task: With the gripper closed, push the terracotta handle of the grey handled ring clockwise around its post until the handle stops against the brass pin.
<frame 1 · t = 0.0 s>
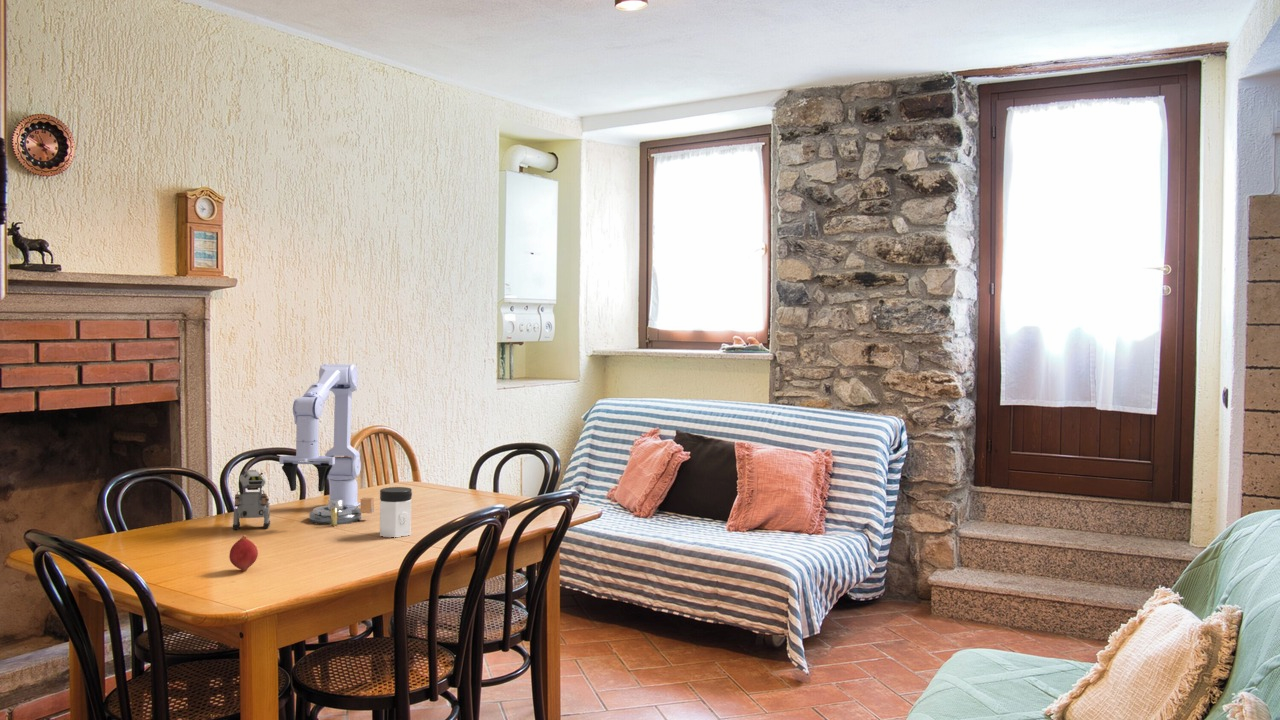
hand: (307, 490, 248), 10 cm above the table, tool pointing down, fingers open, 7 cm apart
figurine: (252, 527, 249), on the table
grey handled ring: (344, 505, 259), point 4 cm above the table, hinge at 0.0°
jar: (395, 535, 242), on the table
onion: (243, 571, 203), on the table
dowel pin: (334, 526, 251), on the table
post base: (335, 519, 259), on the table
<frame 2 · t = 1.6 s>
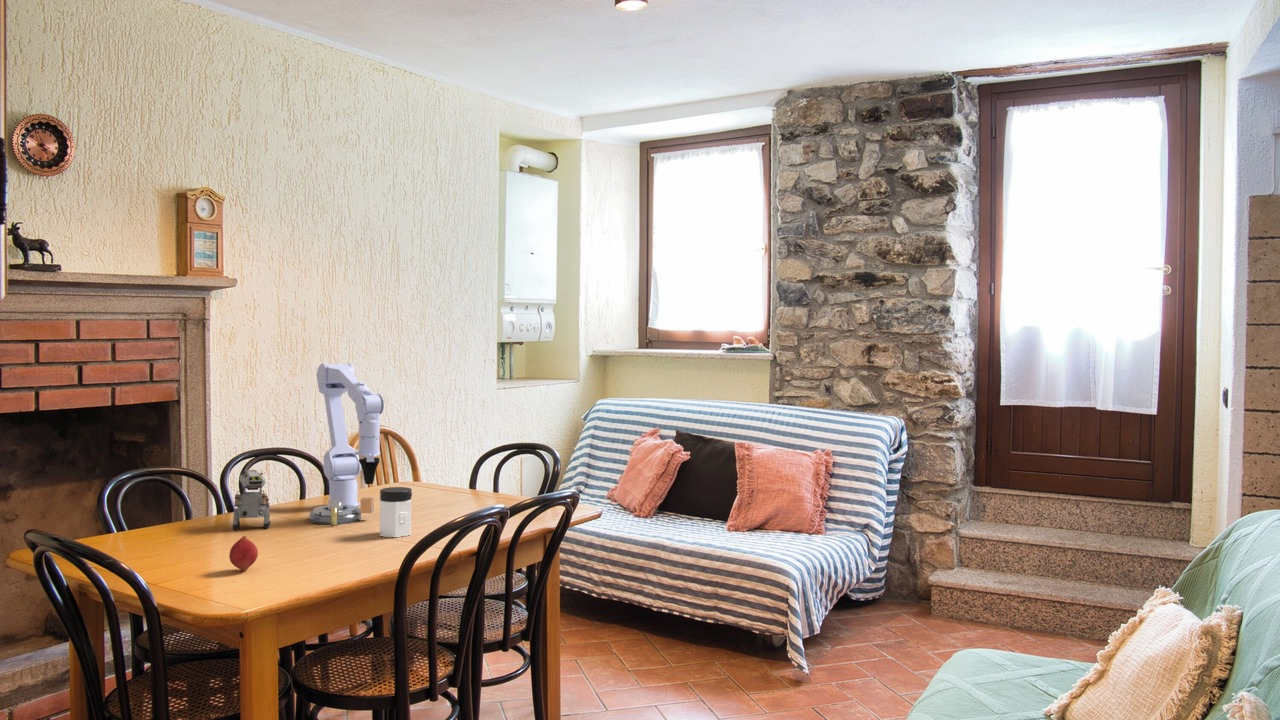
hand: (368, 483, 262), 10 cm above the table, tool pointing down, fingers closed
nothing on the table moved.
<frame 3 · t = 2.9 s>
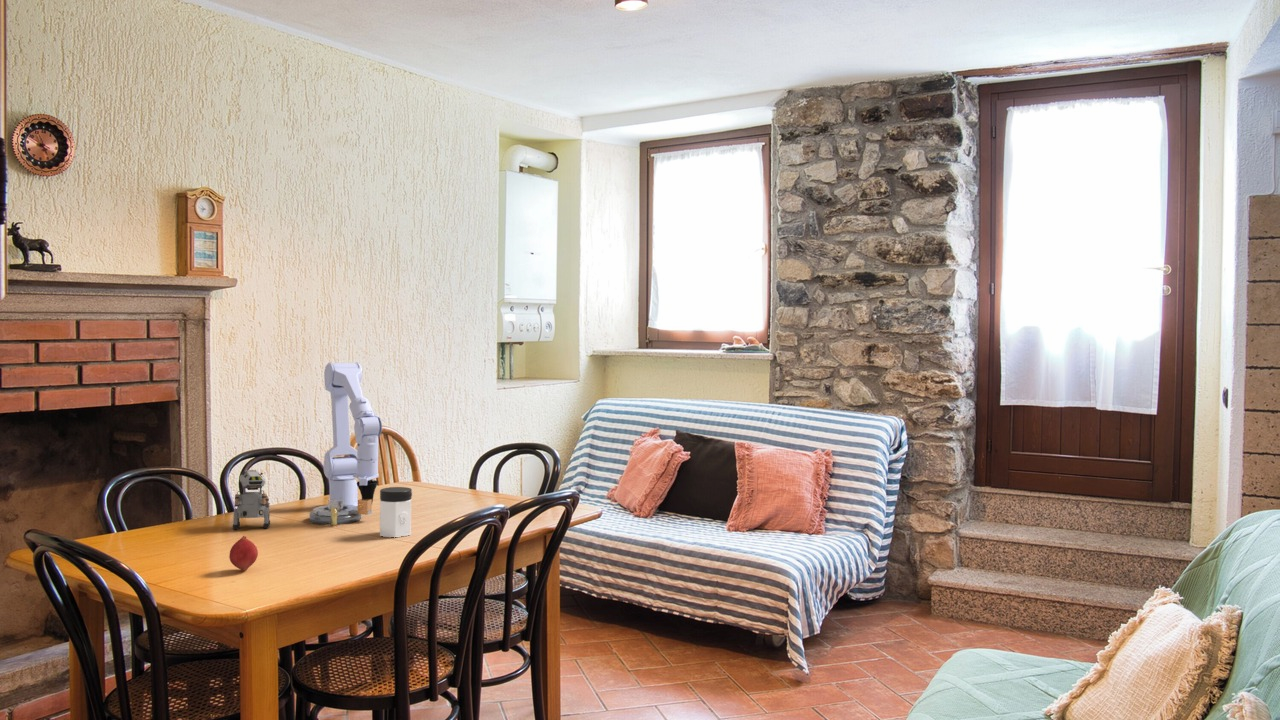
hand: (367, 506, 260), 4 cm above the table, tool pointing down, fingers closed, pressing on grey handled ring
grey handled ring: (343, 505, 259), point 4 cm above the table, hinge at -10.9°, touching gripper
everything else where it was.
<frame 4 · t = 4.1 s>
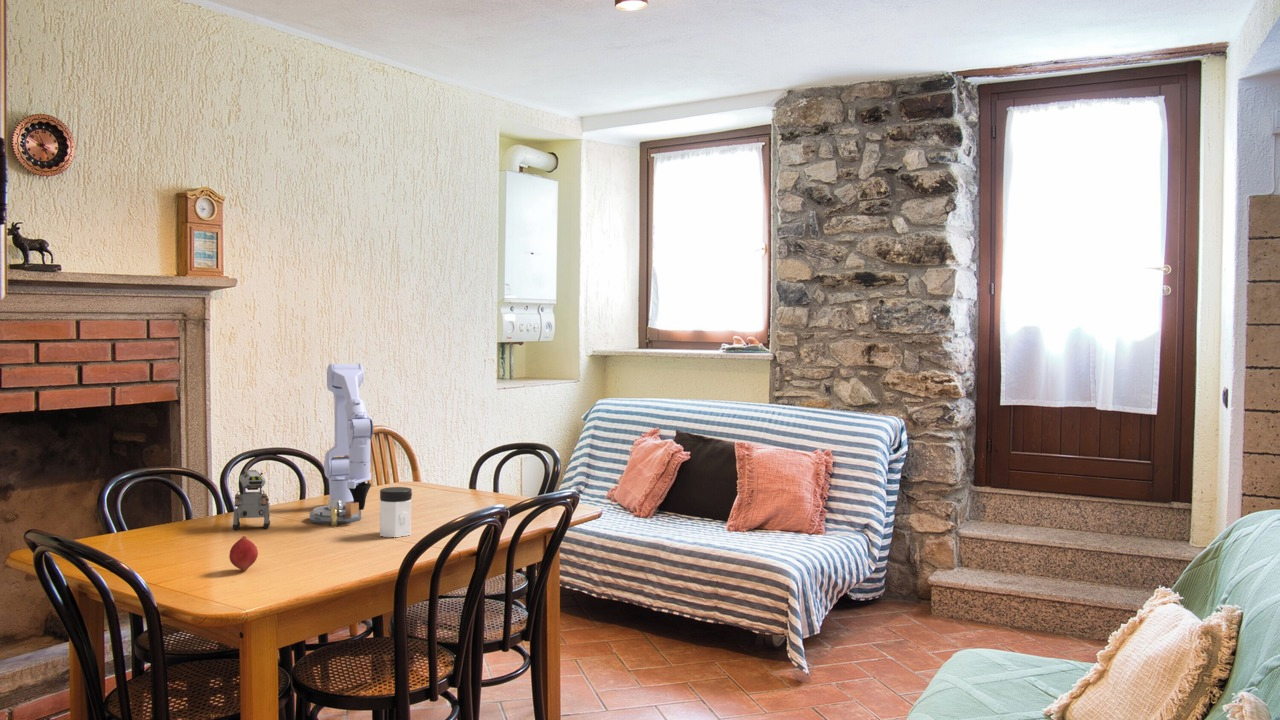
hand: (359, 509, 255), 4 cm above the table, tool pointing down, fingers closed, pressing on grey handled ring
grey handled ring: (339, 506, 258), point 4 cm above the table, hinge at -42.2°, touching gripper
everything else where it was.
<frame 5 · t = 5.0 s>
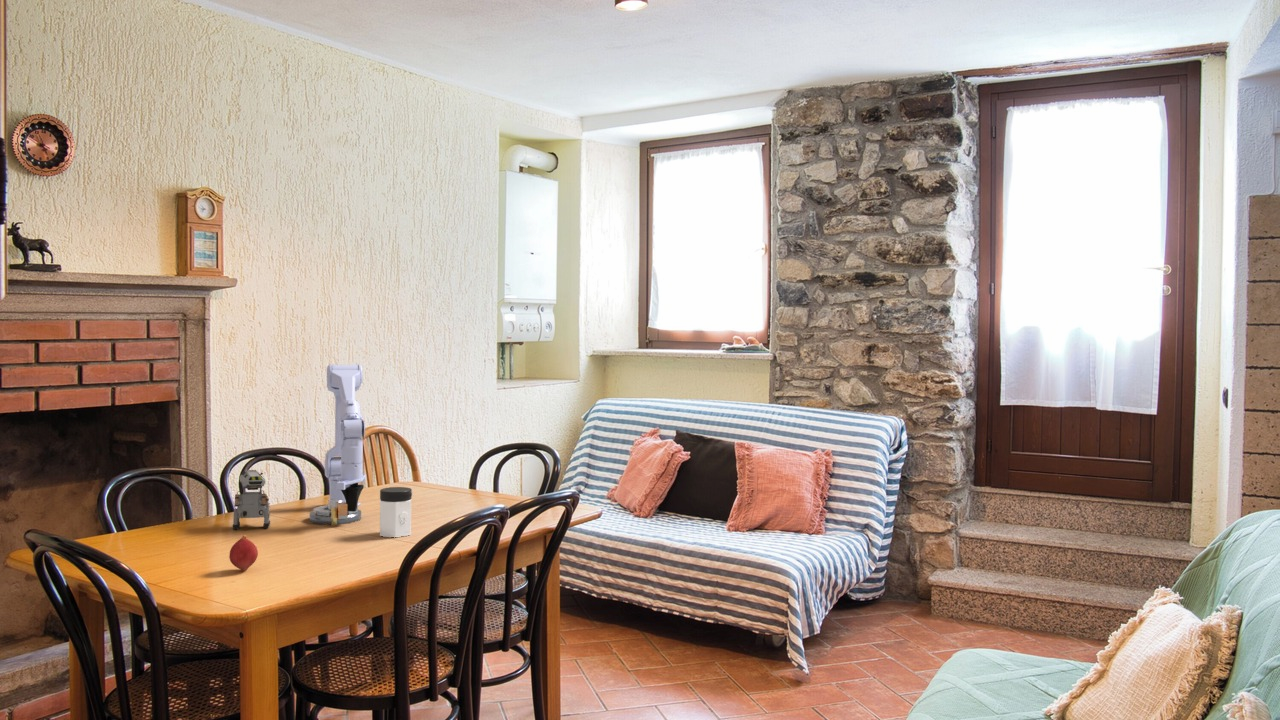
hand: (351, 511, 253), 4 cm above the table, tool pointing down, fingers closed, pressing on grey handled ring
grey handled ring: (337, 506, 257), point 4 cm above the table, hinge at -60.4°, touching dowel pin, gripper
everything else where it was.
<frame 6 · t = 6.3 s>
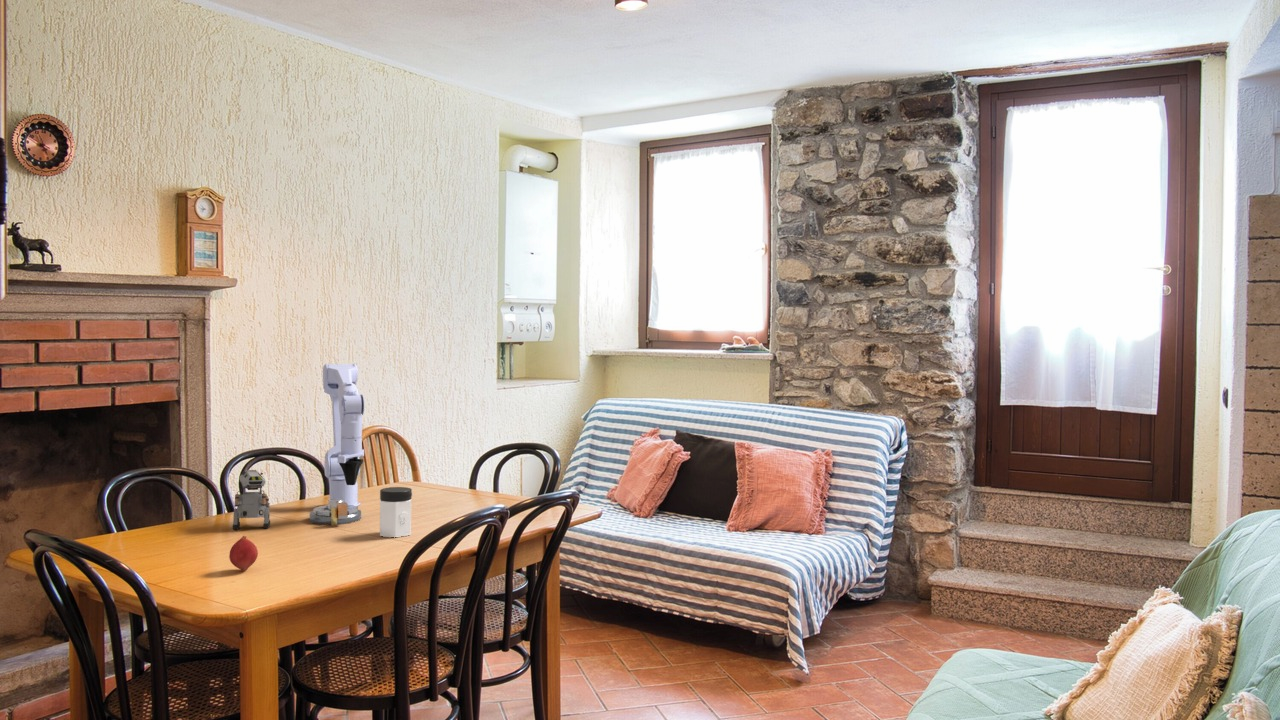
hand: (351, 484, 260), 10 cm above the table, tool pointing down, fingers closed
grey handled ring: (337, 506, 257), point 4 cm above the table, hinge at -60.3°
everything else where it was.
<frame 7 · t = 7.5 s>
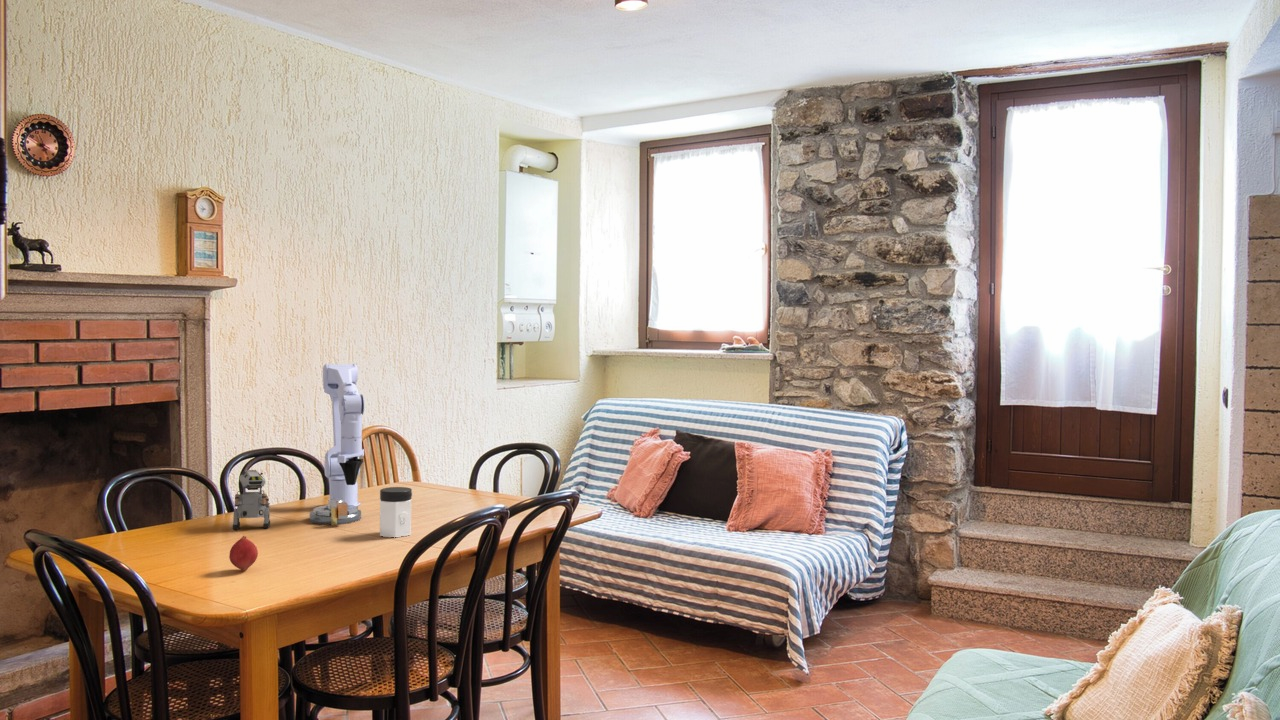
hand: (350, 484, 260), 10 cm above the table, tool pointing down, fingers closed
nothing on the table moved.
at the end: grey handled ring at -60° (first picture: +0°) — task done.
